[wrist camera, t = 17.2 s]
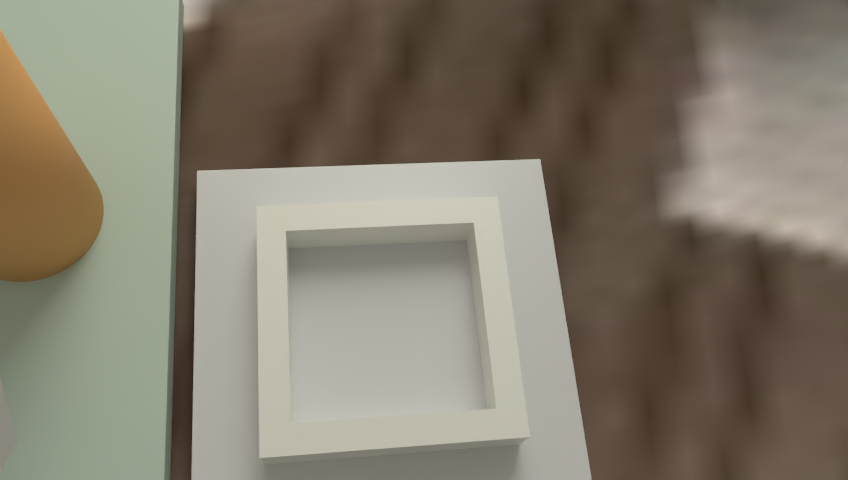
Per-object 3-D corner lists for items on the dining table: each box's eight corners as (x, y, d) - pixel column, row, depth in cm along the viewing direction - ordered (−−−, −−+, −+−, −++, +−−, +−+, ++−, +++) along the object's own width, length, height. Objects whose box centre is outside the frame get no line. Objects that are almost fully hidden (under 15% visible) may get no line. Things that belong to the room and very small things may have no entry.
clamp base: (589, 511, 33) (611, 506, 31) (194, 546, 31) (180, 544, 29) (535, 168, 39) (550, 138, 37) (200, 180, 37) (189, 149, 35)
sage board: (169, 495, 32) (163, 493, 31) (-212, 527, 30) (-233, 525, 29) (183, 5, 41) (179, -10, 40) (-111, 8, 39) (-124, -8, 38)
